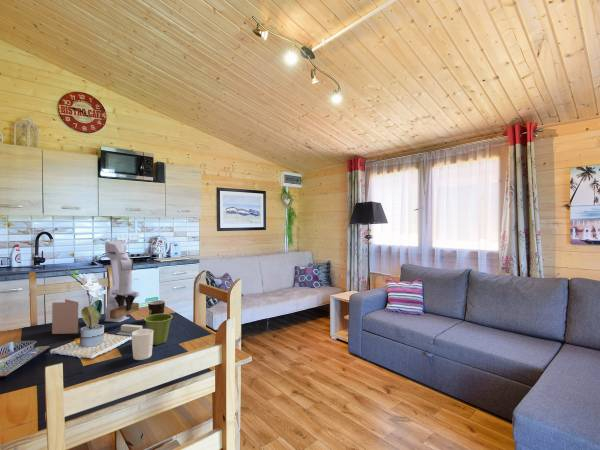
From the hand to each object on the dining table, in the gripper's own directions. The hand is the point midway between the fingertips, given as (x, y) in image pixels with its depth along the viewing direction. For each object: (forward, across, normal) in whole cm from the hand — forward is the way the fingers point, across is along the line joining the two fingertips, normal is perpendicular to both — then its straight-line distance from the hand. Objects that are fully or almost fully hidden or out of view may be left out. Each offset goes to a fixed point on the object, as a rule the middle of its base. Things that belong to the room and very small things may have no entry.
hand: (125, 309), depth 163 cm
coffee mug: (+9, +9, +13) cm, 18 cm away
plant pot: (+9, +28, -13) cm, 33 cm away
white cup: (+9, +32, -29) cm, 44 cm away
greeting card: (+9, -22, -13) cm, 27 cm away
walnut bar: (+2, 0, 0) cm, 2 cm away
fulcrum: (+9, +8, -5) cm, 13 cm away
